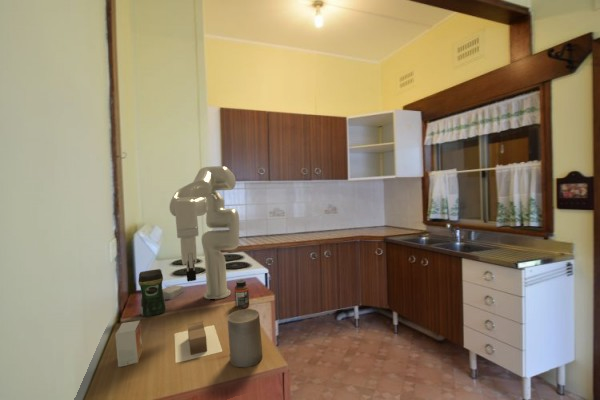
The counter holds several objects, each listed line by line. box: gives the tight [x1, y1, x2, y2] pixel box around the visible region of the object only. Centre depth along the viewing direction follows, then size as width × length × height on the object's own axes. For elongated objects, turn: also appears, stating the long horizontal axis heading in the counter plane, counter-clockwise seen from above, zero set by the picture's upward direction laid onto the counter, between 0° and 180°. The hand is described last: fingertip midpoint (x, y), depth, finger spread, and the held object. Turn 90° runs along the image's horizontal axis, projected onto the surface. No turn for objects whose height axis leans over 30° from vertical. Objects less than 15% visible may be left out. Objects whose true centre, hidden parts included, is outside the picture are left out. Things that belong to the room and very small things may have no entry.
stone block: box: [162, 285, 185, 301], centre depth 157 cm, size 12×5×10 cm
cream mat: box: [174, 324, 223, 364], centre depth 108 cm, size 21×14×1 cm, turn 22°
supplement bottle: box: [234, 279, 250, 309], centre depth 138 cm, size 6×6×11 cm
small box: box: [114, 320, 143, 368], centre depth 99 cm, size 8×6×10 cm
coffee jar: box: [137, 268, 167, 317], centre depth 135 cm, size 10×8×19 cm
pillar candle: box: [226, 308, 263, 368], centre depth 96 cm, size 10×10×15 cm
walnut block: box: [187, 321, 207, 355], centre depth 106 cm, size 5×5×12 cm
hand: (191, 280), depth 119 cm, fingers closed
